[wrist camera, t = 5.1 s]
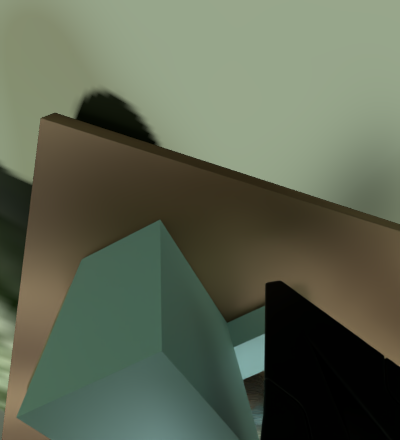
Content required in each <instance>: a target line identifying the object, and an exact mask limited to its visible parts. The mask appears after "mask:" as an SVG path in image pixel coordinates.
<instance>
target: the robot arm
mask: <svg viewBox="0 0 400 440" xmlns="http://www.w3.org/2000/svg"><path fill="white" fill-rule="evenodd" d="M260 440H400V366H398V365H397V364H395V363H394V362H393V361H391V360H390V359H389V358H385V357H384V355H383V354H382V353H380V352H379V351H377V350H376V349H375V348H373V347H372V346H371V345H369V344H368V343H366V342H365V341H364V340H362V339H361V338H360V337H358V336H357V335H355V334H354V333H353V332H351V331H350V330H349V329H347V328H346V327H344V326H343V325H342V324H340V323H339V322H338V321H336V320H335V319H333V318H332V317H331V316H329V315H328V314H327V313H325V312H324V311H322V310H321V309H320V308H318V307H317V306H316V305H314V304H313V303H311V302H310V301H309V300H307V299H306V298H305V297H303V296H302V295H301V294H299V293H298V292H296V291H295V290H294V289H292V288H291V287H290V286H288V285H287V284H285V283H284V282H283V281H280V280H278V281H272V282H267V283H266V284H265V345H264V401H263V419H262V427H261V436H260Z"/></svg>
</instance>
